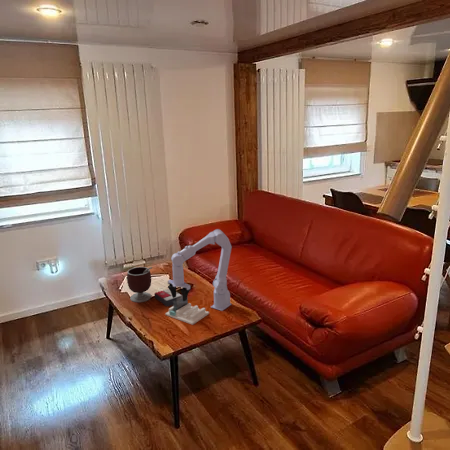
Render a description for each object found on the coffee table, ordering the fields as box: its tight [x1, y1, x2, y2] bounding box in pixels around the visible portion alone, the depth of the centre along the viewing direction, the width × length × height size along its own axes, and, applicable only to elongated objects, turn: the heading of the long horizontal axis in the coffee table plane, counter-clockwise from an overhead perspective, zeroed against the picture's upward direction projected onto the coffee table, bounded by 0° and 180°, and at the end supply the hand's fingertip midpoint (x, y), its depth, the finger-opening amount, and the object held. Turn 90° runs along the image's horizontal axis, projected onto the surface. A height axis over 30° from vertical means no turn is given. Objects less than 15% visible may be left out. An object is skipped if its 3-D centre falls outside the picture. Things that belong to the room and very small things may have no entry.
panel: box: [172, 294, 189, 313], centre depth 212 cm, size 9×2×7 cm, turn 145°
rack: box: [164, 302, 210, 326], centre depth 210 cm, size 14×19×4 cm
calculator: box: [154, 288, 182, 307], centre depth 228 cm, size 11×4×15 cm
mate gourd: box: [126, 266, 153, 303], centre depth 228 cm, size 16×14×20 cm
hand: (179, 298), depth 211 cm, fingers open, 7 cm apart
